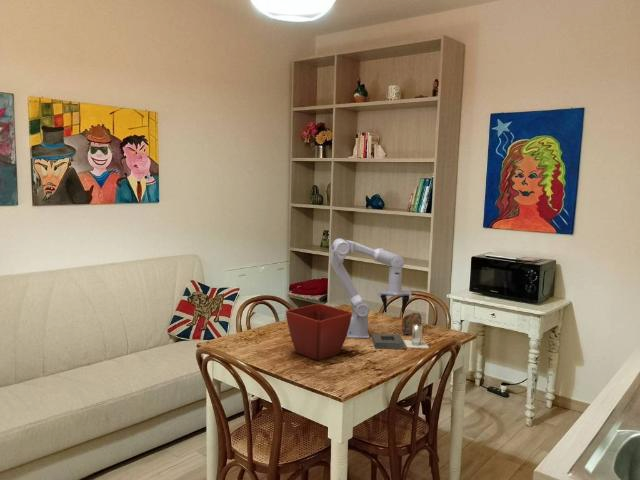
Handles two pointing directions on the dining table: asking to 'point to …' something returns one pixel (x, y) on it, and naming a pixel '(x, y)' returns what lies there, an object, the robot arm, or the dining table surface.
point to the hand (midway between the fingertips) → (394, 312)
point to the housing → (387, 341)
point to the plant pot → (318, 330)
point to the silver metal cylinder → (416, 334)
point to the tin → (410, 322)
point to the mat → (409, 345)
